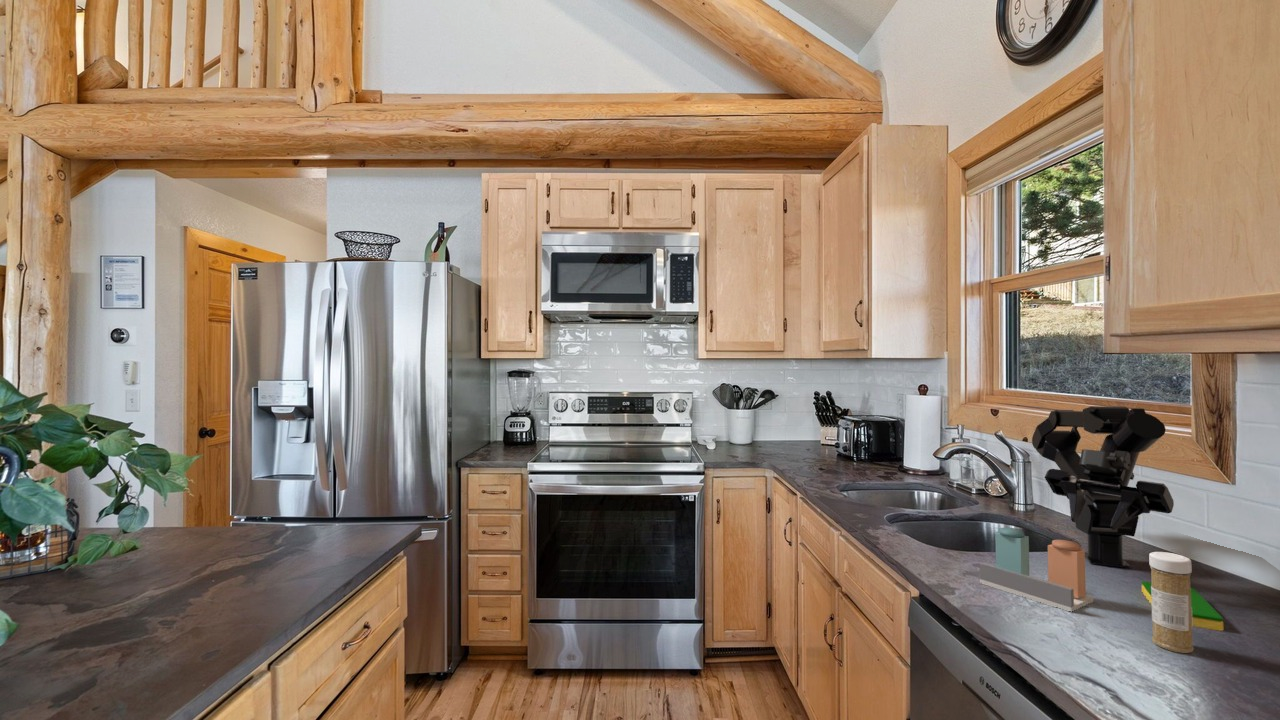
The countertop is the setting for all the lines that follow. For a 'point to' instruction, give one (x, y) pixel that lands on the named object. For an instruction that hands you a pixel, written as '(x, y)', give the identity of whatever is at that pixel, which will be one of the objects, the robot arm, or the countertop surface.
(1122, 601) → the countertop surface
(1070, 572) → the orange domed block
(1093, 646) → the countertop surface
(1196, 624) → the dish sponge
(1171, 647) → the sprinkles bottle
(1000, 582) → the button console
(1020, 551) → the button teal
